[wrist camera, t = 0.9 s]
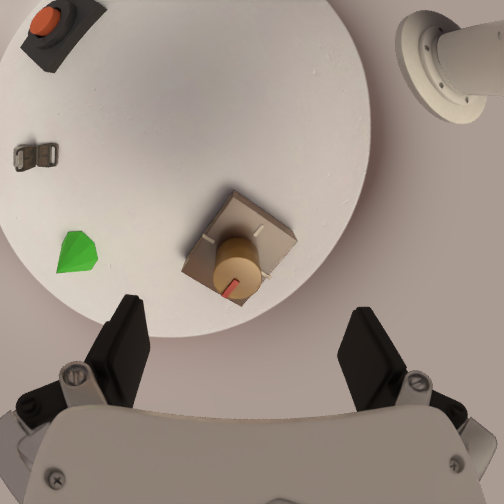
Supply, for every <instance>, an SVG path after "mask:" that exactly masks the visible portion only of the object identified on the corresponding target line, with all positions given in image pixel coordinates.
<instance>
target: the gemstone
mask: <svg viewBox="0 0 504 504" xmlns="http://www.w3.org/2000/svg"><path fill="white" fill-rule="evenodd" d="M97 260H98V257H97V253H96V249H95V244H94V242H93V241H92V240H91V239H90V238H89V237H87V236H86V235H85V234H84V233H83V232H82V231H76V232H68V234H67V236H66V238H65V240H64V241H63V243H62V247H61V252H60V257H59V262H58V267H57V273H66V272H76V271H87V270H91V269H92V268H93V266H94V264H95V263H96V261H97Z"/></svg>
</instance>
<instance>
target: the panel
mask: <svg viewBox="0 0 504 504" xmlns="http://www.w3.org/2000/svg"><path fill="white" fill-rule="evenodd" d="M231 238H244V239H247V240H249V241H250V242H252V243H253V244H254V245H255V246H256V248H257V250H258V253H259V259H260V266H261V273H262V282H263V281H264V280H265V279H266V278H268V279H270V278H271V276H270V275H269V274H270V273H271V272H272V271H273V270H274V268H275V267H276V266H277V265H278V264H279V263H280V261H281V260H282V259H283V258H284V257H285V256H286V254H287V253H288V252H289V251H290V250H291V248H292V247H293V246H294V245H295V244H296V242H297V239H296V237H295V235H294V233H293V231H292V230H291V229H289V228H288V227H286V226H285V225H284V224H282V223H281V222H279V221H278V220H277V219H275V218H274V217H272V216H271V215H270V214H268V213H267V212H265V211H264V210H263V209H261V208H260V207H258V206H257V205H255V204H254V203H253V202H251V201H250V200H248V199H247V198H245V197H244V196H242V195H241V194H240V193H238V192H237V191H235V190H234V191H233V192H232V194H231V195H230V197H229V198H228V199H227V201H226V202H225V204H224V205H223V206H222V208H221V209H220V211H219V212H218V213H217V215H216V216H215V218H214V219H213V220H212V222H211V223H210V225H209V226H208V228H207V229H206V230H205V232H204V233H203V235H202V236H201V238H200V239H199V241H198V242H197V243H196V245H195V246H194V248H193V249H192V251H191V252H190V254H189V255H188V257H187V258H186V260H185V263H184V265H183V268H182V271H181V272H183V273H185V274H186V275H188V276H190V277H191V278H193V279H195V280H196V281H198V282H200V283H201V284H203V285H205V286H206V287H208V288H210V289H211V290H213V291H215V292H217V293H218V294H220V295H222V294H221V293H220V292H219V291H218V290H217V289H216V287H215V285H214V283H213V272H214V266H215V260H216V255H217V251H218V248H219V247H220V246H221V244H222V243H223V242H225V241H227V240H229V239H231ZM262 282H261V284H262ZM249 297H250V296H249ZM249 297H247V298H243V299H232V298H228V297H227V299H229V300H230V301H232V302H234V303H236V304H238V305H239V306H242V305H243V304H244V303H245V302H246V301H247V300H248V299H249Z"/></svg>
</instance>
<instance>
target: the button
mask: <svg viewBox="0 0 504 504" xmlns="http://www.w3.org/2000/svg"><path fill="white" fill-rule="evenodd" d="M60 17H61V14H60V11H58V10H56V9H54V8H52V7H46V8H44V9H42V10H41V11H39V12H38V13H37V14H36V16H35V17H34V19H33V20H32V22H31V25H30V31H31V33H33V34H36V35H39V36H46V35H48V34H49V33H51V32H52V31H53V29H54V28H55V27H56V26H57V24H58V22H59V20H60Z"/></svg>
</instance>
